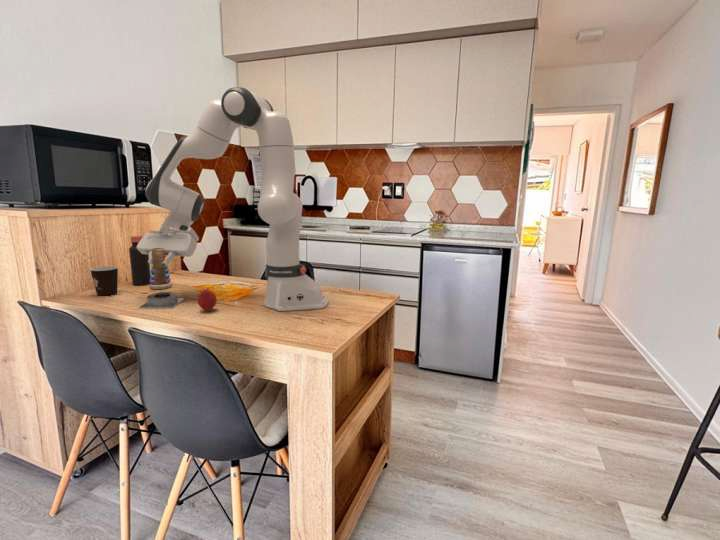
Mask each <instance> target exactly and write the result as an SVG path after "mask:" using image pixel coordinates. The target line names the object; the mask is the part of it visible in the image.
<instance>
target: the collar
mask: <svg viewBox="0 0 720 540" xmlns="http://www.w3.org/2000/svg"><path fill="white" fill-rule="evenodd" d="M185 299H186V298H185V297H178V293H176V292H171V291H167V292H166V291H163V292H156V293H152V294H149V295H148V296H146V301H147V302H145V303H144V304H142V305H141V306H139V307H138V309H139V308H147V309H174V308H175V307H177V306H178V305H179V304H181V303H182V302H184V301H185ZM181 301H182V302H181ZM180 302H181V303H180ZM177 304H178V305H177ZM176 305H177V306H176Z"/></svg>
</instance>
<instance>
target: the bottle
mask: <svg viewBox="0 0 720 540" xmlns="http://www.w3.org/2000/svg"><path fill="white" fill-rule="evenodd" d="M143 236H144V235H131V236H130V244H131V246H130V247H129V248H128V253H129V254H128V255H129V263H130V272H131V279H132V285H133V286H135V287H136V286H137V287H140V286H142V287H143V286H147V285H150V284H151V283H150V279H151V277H150V275H151V264H149V263H148V261H149V259H150V256H149V254H142V253H140V252H139V251H138V249H137V245H138V243H139V242H140V240H141V239H142V238H143Z"/></svg>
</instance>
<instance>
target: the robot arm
mask: <svg viewBox="0 0 720 540" xmlns="http://www.w3.org/2000/svg"><path fill="white" fill-rule="evenodd" d="M239 127H242V128H245V129H250V130H254V131H255V132H256V134H257V137H258V145H259V146H258V148H259V157H260V167H261V168H260V169H261V170H260V171H261V173H260V175H261V179H260V191H259V192H260V193H259V200H258V203H257V213H258V216H259V217H260V219H261V220H262V221H264V222H265V223H266V224H268V225H269V228H268V233H267V234H268V235H267V238H266V241H265V242H266V245H265V247H266V249H265V250H266V264H265V279H266V288H265V289H266V290H265V295H264V296H265V297H264V301H263V306H264V307H266V308H269V309H274V310H276V311H278V312H288V311H302V310H304V311H305V310H316V309H317V310H318V309H324V308H326V307H327V306H328V304H329V300H328V297H327V296H326V295H323V293H322V289H321V286H320V283H318V282H317V281H316V280H314V279H313V278H311V277H310V276H309V275H308V274H306V272H307V268H306V266H305V264H302V263H300V235H301V228H302V217H303V216H302V214H303V202H302V200H301V198H300V197H299V196H298V195H297V194H296V193H294V185H295V175H296V159H295V149H294V148H295V147H294V141H293V140H294V138H293V132H292V127H291V123H290V120H289V118H288V117H287V115H286V114H284V113H282V112H280V111H277V110H275V111H274V109H273V106H272V105H271V104H270V102H269V101H268V100H266V98H264V97H261V96H260V95H259V94H258V93H257V92H254V91H251V90H249V89H246V88H245V87H239V86H235V87H234V86H233V87H229V88H228V89H227V90H226V91H225V92H224V93H223V95H222V96H221V99H219V98H218V99H212V100H211V101H209V103H208V105H207V106H206V107H205V108H204V111H202V114H201V116H200V118H199V120H198V123H197V124H196V126H195V129H194V131H193V132H191V134H189V135H188V136H187V135H186V136H183V135H182V137H180V138H179V139H178V140H177V142H175V144H174V146H173V147H172V149H171V151H169V153H168V155H167V157H166V158H165V160H164V161H163V163H162V164H161V166H160V167H159V169H158V171H157V173H155V174H154V175H155V176H154V177H152V179H151V180H150V181H149V182H148V184H147V186H146V188H145V192H144V195H145V198H146V200H147V201H148V203H149V204H151V205H154V206H156V207H158V208H163V209H166V210H168V211H169V213H168V216H167V217H165V219H164V221H163V223H162V224H161V226H160V228H159V230H158V231H155V230H151V231H149V232H146V233H145V234H144V235H142V236H143V238H142V239H141V240H140V242H139V243H138V245H137V249H138V251H139V252H140V253H142V254H149V261H148V263H149V264H150V265H152V264H153V259H152V250H151V249H153V248H164V255H166V257H165V259H163V260H162V262H161V263H162V264H163V265H168V266H169V264H170V262H171V261H173V260H174V259H175V258H176V257H187V258H189V257H192V256H193V255H194V254H195V252H196V248H197V246H198V241H199V240H200V238H199V236H198V234H197V233H196V231H195V230H194V229H193V228H192V227H191V225H193V223H194V222H195V221H197V220H198V219H199V218H200V216H201V213H202V212H203V210H204V207H205V200H204V197H203V196H202V194H201V193H199V192H197V191H195V190H193V189H191V188H189V187H187V186H186V187H185V186H184V185H182V184H181V185H180V184H179V183H177V182H175V181H172V179H171V178H172V175H173V174H174V172H175V171H176V169H177V167H178V166H179V165H180V163H181V161H183V160H184V159H191V158H192V159H199V160H215V159H218V158H220V157H222V156H224V154H225V152H226V151H227V150H228V146H229V145H230V143H231V140H232V138H233V135H234V132H235V131H236V129H238V128H239Z"/></svg>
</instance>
